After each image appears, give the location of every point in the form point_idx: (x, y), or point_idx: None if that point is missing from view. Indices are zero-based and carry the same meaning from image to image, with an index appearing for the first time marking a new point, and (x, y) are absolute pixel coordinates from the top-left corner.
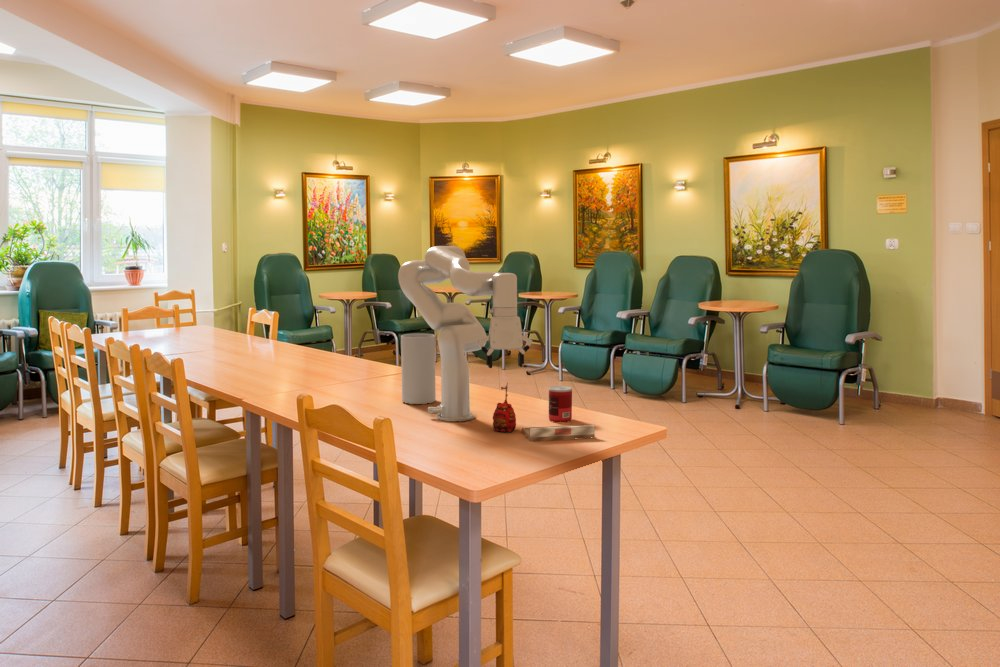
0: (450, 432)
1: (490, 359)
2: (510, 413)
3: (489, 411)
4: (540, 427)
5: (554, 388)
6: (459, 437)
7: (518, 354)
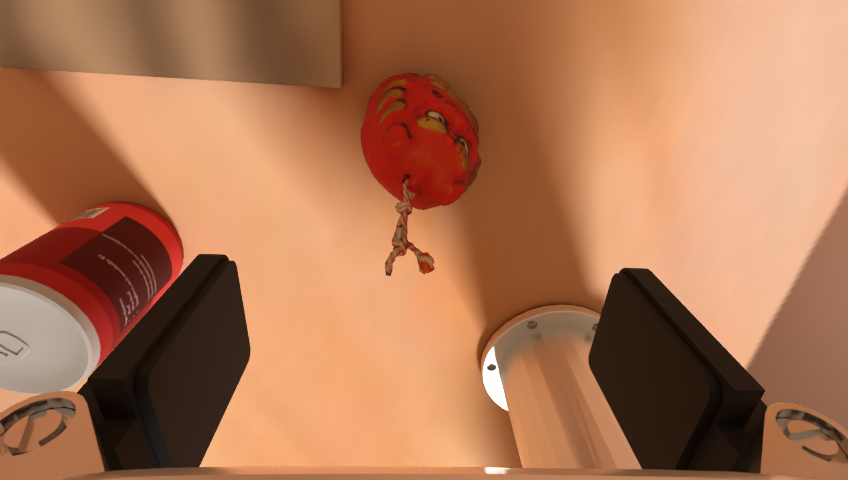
0: (660, 155)
1: (709, 340)
2: (399, 100)
3: (401, 414)
4: (242, 69)
5: (61, 361)
6: (663, 52)
7: (179, 465)
